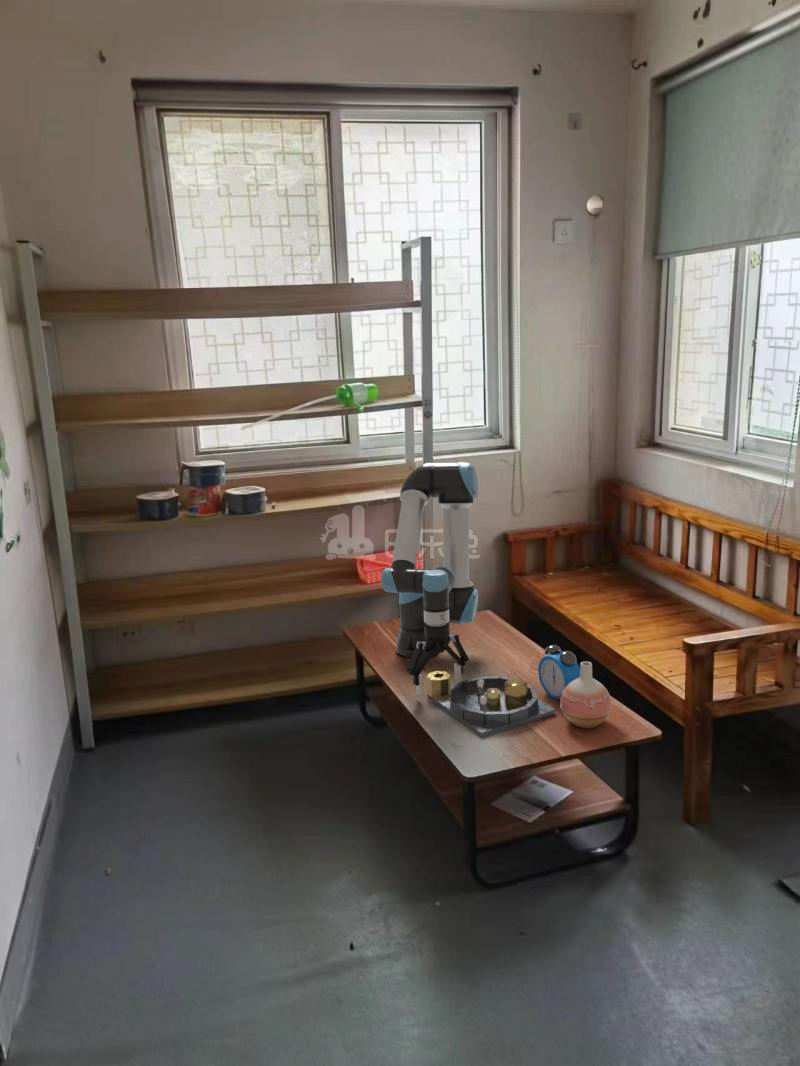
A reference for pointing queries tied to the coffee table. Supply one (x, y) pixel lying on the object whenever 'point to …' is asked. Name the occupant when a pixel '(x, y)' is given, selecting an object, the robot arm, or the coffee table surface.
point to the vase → (585, 699)
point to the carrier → (494, 704)
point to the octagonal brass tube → (438, 684)
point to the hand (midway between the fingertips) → (438, 689)
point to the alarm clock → (557, 671)
